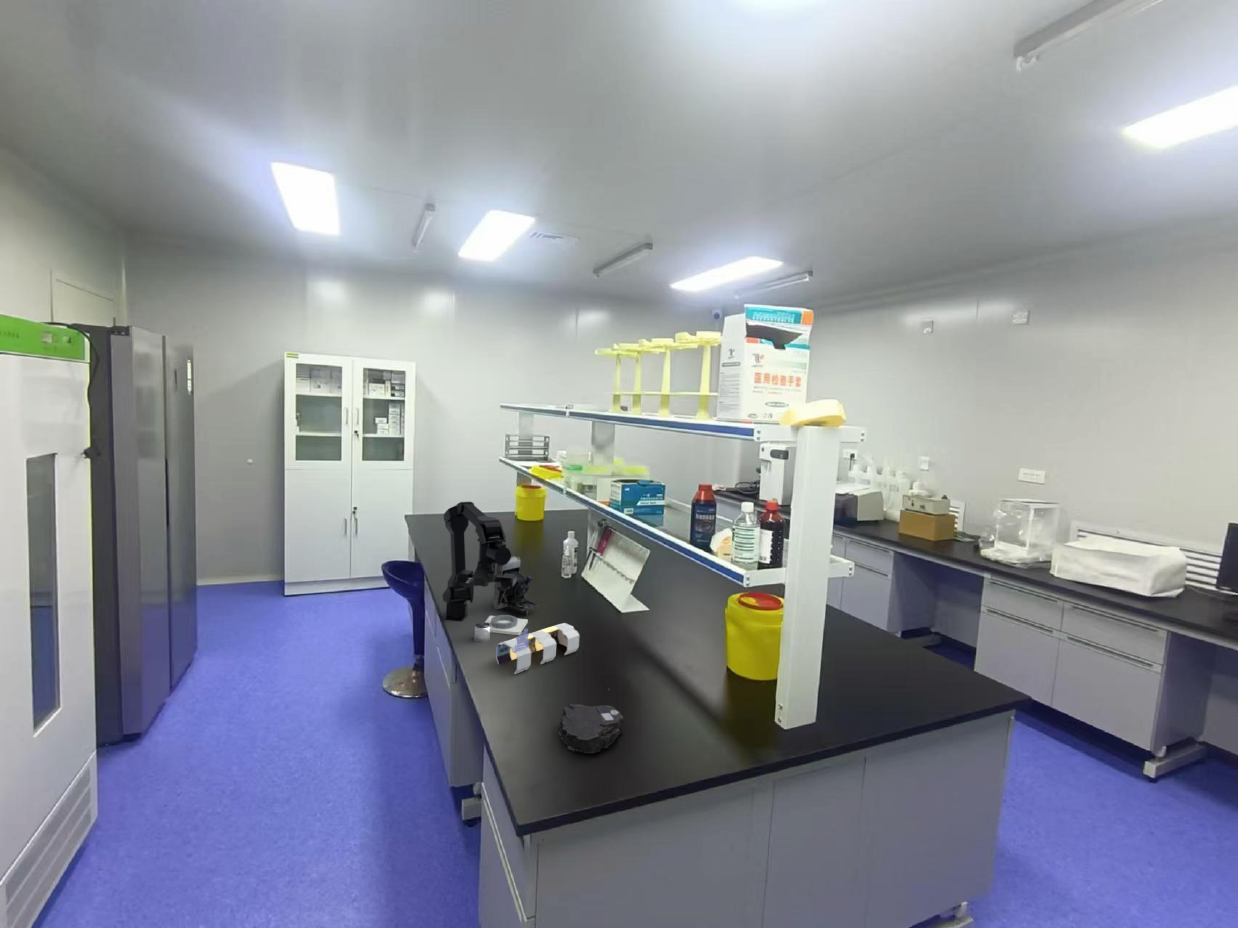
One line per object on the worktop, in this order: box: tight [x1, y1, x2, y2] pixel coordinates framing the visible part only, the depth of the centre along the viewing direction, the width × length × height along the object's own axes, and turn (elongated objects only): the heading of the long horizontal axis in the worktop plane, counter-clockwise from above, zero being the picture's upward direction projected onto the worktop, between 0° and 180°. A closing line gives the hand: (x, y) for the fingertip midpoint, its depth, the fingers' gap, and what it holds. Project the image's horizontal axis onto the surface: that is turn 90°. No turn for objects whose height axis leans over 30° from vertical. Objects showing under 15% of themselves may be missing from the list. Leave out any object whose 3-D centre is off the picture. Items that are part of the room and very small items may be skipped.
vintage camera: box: [493, 555, 538, 616], centre depth 211 cm, size 10×15×20 cm, turn 53°
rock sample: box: [558, 703, 625, 754], centre depth 135 cm, size 18×16×5 cm
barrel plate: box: [484, 614, 529, 636], centre depth 197 cm, size 14×12×2 cm
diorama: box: [495, 622, 580, 675], centre depth 174 cm, size 25×10×13 cm, turn 138°
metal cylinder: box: [473, 621, 491, 643], centre depth 185 cm, size 5×5×5 cm
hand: (485, 603), depth 184 cm, fingers open, 9 cm apart
